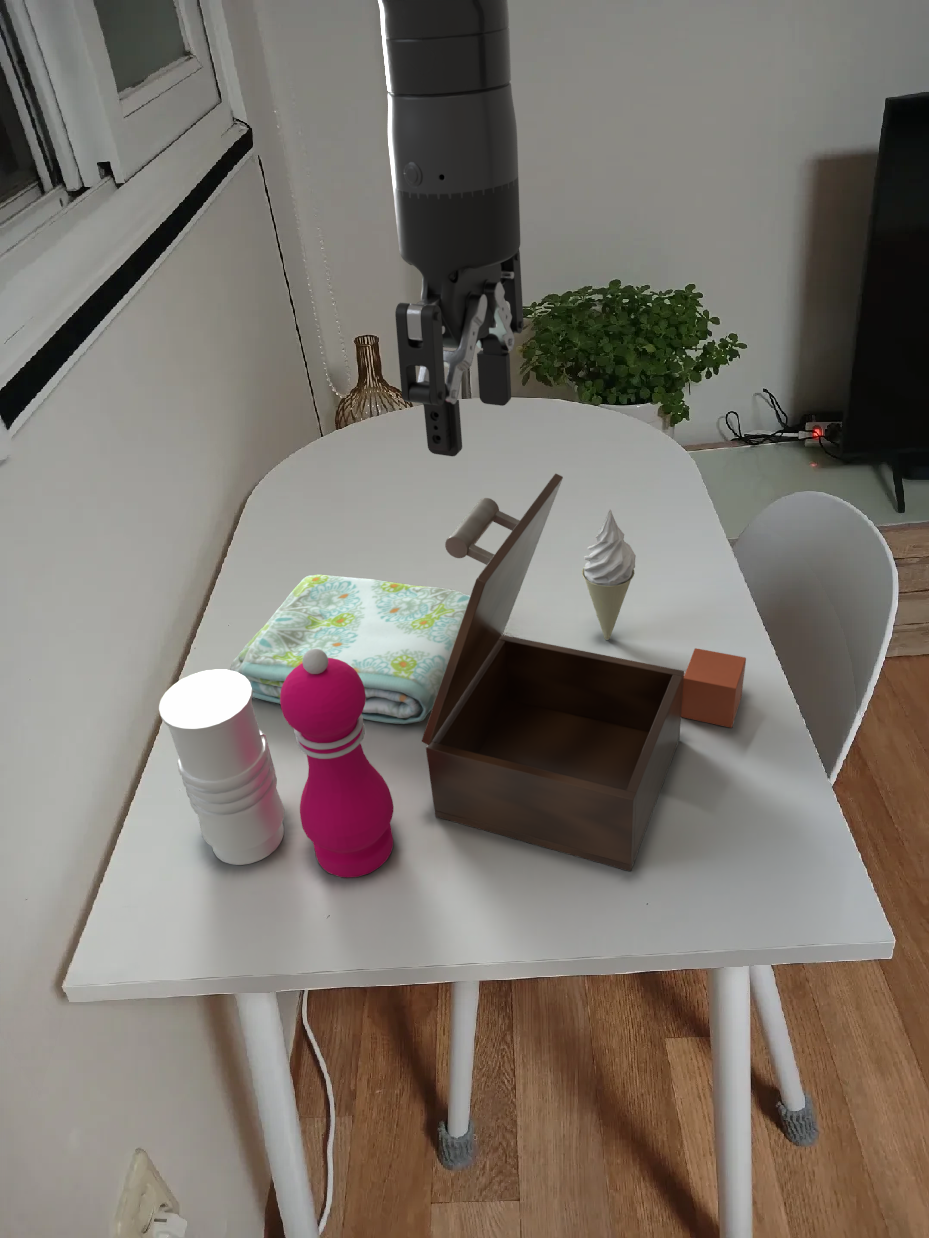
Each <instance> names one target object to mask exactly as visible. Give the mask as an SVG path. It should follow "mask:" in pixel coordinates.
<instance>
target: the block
mask: <svg viewBox="0 0 929 1238" xmlns="http://www.w3.org/2000/svg"><path fill="white" fill-rule="evenodd" d="M746 661H747V658H746V657H744V656H739V655H735V654H728V653H723V652H719V651H713V650H707V649H703V648H702V649H701V648H697V647H695V648H694V650H693V652H692V655H691V657H690V660H689V662H688V665H687V667H686V670H685V671H684V682H683V696H682V710H681V718H683V719H684V718H685V719H689V720H693V721H698V722H702V723H708V724H711V725H715V726H716V725H717V726H722V727H725V728H726V727H727V728H731V729H732V728H733V726H734V722H735V720H736V716H737V712H738V709H739V707H740V703H741V700H742V697H743V686H744V680H745V679H744V678H745V670H746Z"/></svg>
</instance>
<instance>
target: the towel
mask: <svg viewBox="0 0 929 1238" xmlns="http://www.w3.org/2000/svg"><path fill="white" fill-rule="evenodd" d="M470 596H471V594H465V593H463V592H461V591H459V590H455V589H450V588H442V587H438V586H437V587H435V586H426V585H425V586H424V585H412V584H408V583H400V582H393V581H386V580H379V579H373V578H362V577H361V578H359V577H349V576H340V575H339V576H338V575H331V574H330V575H329V574H314V575H311V574H310V575H306V576H304V578H303V579H301V580H300V582H298V584H297V585H296V586H295V588H294V589H293V590H292V591H291V592H290V593H289V594H288V596H287V597H286V598H285V599H284V601H283V602H282V603H281V605H280V606H279V607H278V608H277V609H276V611H275V612H274V613H273V614H272V615H271V617H270V618H269V619H268V620H267V622H266V623H265V624H264V625H263V626H262V627H261V628H260V629H259V630H258V631H257V632H256V633H255V635H254V636H253V637H252V638H251V639H250V640H249V641H248V642H247V644H245V646H244V647H243V649H241V651H240V652H239V653H238V655H237V656H236V657H235V658H234V659H233V660H232V662H231V665H230V666H229V670H231V671H235V672H238V673H240V674H242V675H244V676H245V677H246V678H247V679H248V680H249V682H250V685H251V688H252V691H253V695H252V698H255V699H259V700H262V701H267V702H269V703H274V704H280V693H281V688H282V685H283V683H284V681H285V679H286V678H287V676H288V675H289V674H290V672H291V671H292V670H293V669H294V668H296V667H297V666H298V665H300V664H302V660H303V656H304V655H305V653H306V652H307V651H309V650H311V649H320V650H322V651H323V652H325V654H326V655H327V657H328V658H334V659H338V660H341V661H343V662H345V663H347V664H348V665H350V666H351V667H353V668H354V669H355V671H356V672H357V673H358V675H359V676H360V678H361V680H362V682H363V685H364V689H365V696H366V699H365V706H364V709H363V711H362V716H363V720H367V721H372V722H380V723H387V724H397V725H399V724H401V725H405V724H406V725H407V724H412V723H419V722H422V721H423V720H424V719H425V718H426V717H427V716H428V714H429V713H431V711H432V708H433V705H434V702H435V699H436V697H437V694H438V691H439V688H440V685H441V682H442V679H443V676H444V673H445V670H446V667H447V664H448V661H449V658H450V655H451V652H452V649H453V646H454V643H455V640H456V637H457V634H458V632H459V629H460V626H461V623H462V620H463V617H464V614H465V611H466V608H467V605H468V602H469V599H470ZM280 705H281V704H280Z"/></svg>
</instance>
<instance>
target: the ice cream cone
mask: <svg viewBox="0 0 929 1238" xmlns="http://www.w3.org/2000/svg"><path fill="white" fill-rule="evenodd" d="M595 538H596V543H595V544H593V545H589V546H587V550H589V551H591V553H590V554H587V555H584V556H583V559H584V560H585V561H587V562H586V563H585V564H584V566H583V568H582V570H581V575H582V577H583V579H584V581H585V584H586V587H587V590H588V592H589V596H590V599H591V602H592V605H593V608H594V611H595V614H596V617H597V620H598V623H599V626H600V628H601V632H602V634H603V638H604V640H606V641H609V640H610V639H611V636H612V633H613V630H614V628H615V626H616V623H617V619H618V617H619V615H620V613H621V612H620V611H621V609H622V605H623V603H624V600H625V597H626V595H627V592H628V590H629V586H630V584H631V581H632V579H633V578H634V577H635V568H636V558H637V557H636V554H635V552H634V550H633V548H632V546H631V545H630V544H629V543H627V542H626V541H625V534H624V532H623V531H622V529H621V528H620V527H619V526H618V523H617V522H616V520H615V517H614V514H613V513H612V510H611V509H609V511H608V512H607V515H606V516H605V519H604V521H603V523H602V525H601V527H600V528H599V529H598V531H597V534H596V535H595Z"/></svg>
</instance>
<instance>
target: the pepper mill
mask: <svg viewBox="0 0 929 1238" xmlns="http://www.w3.org/2000/svg"><path fill="white" fill-rule="evenodd" d="M365 699H366V696H365V689H364V685H363V682H362V680H361V678H360V676H359V675H358V673H357V672H356V671H355V669H354V668H353V667H351V666H350V665H348V664H347V663H345V662H343V661H341V660H338V659H334V658H328V657H327V655H326V654H325V652H323V651H322V650H320V649H311V650H309V651H307V652H306V653H305V655H304V656H303V660H302V664H300V665H298V666H297V667H296V668H294V669H293V670H292V671H291V672H290V674H289V675H288V676H287V678H286V679H285V681H284V683H283V685H282V688H281V693H280V710H281V713H282V716H283V718H284V719H285V721H286V722H287V724H288V725H289V726H290V727H291V728H292V729H293V732H294V736H295V738H296V745H297V747H298V749H299V750H300V751H301V752H302V753H303V754H305V755H306V758H307V765H308V770H307V771H308V773H307V779H306V782H305V784H304V786H303V790H302V793H301V796H300V803H299V816H300V822H301V823H300V824H301V827H302V830H303V832H304V833H305V835H306V837H307V838H308V839H309V840H310V841H311V842H312V844H313V849H314V852H315V857H316V860H317V862H318V864H319V865H320V867H322V869H323V870H324V871H326V872H327V873H329V874H331V875H334V876H336V877H338V878H339V877H340V878H358V877H359V878H360V877H362V876H364V875H365V876H366V875H368V874H371V873H372V872H374V871H376V870H378V869H379V868H380V867H381V866H383V864H384V863H386V861H387V860H388V858H389V857H390V856H391V853H392V852H393V851H392V850H393V849H394V848H393V847H394V837H393V831H392V825H391V822H392V820H393V815H394V801H393V797H392V794H391V791H390V787H389V786H388V784H387V782H386V780H385V779H384V777H383V776H382V774H381V773H380V772H379V771H378V770H377V769H376V768H375V767H374V766H373V764H372V763H371V762H370V761H369V759H368V758H367V756H366V754H365V752H364V749H363V746H362V741H363V739H364V737H365V734H366V726H365V724H364V719H363V716H362V711H363V709H364V706H365Z"/></svg>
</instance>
